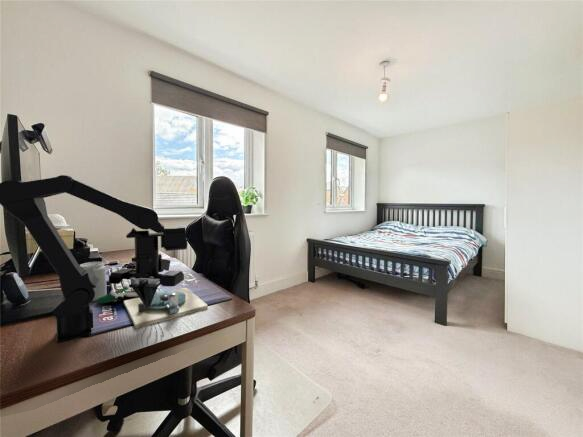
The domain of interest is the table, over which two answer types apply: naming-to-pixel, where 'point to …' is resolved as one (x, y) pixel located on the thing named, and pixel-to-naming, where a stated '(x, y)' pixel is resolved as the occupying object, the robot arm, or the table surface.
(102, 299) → the green irregular piece
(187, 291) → the post base
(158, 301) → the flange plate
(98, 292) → the can
